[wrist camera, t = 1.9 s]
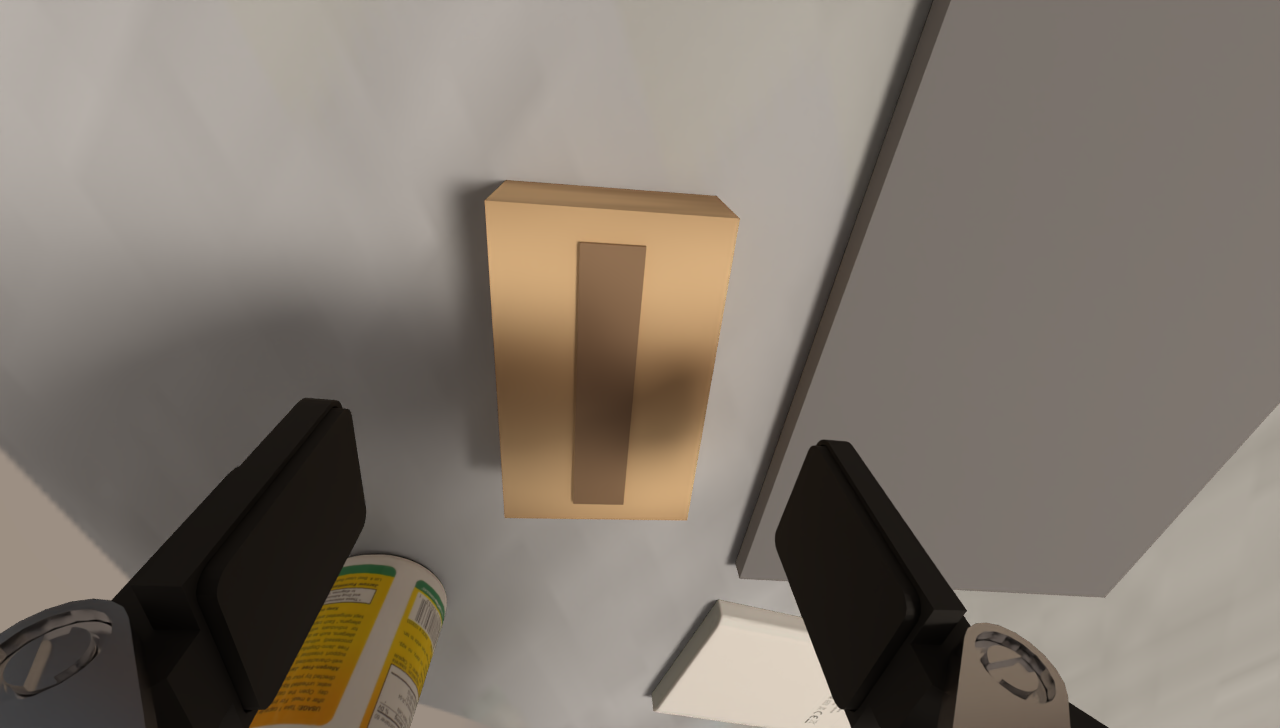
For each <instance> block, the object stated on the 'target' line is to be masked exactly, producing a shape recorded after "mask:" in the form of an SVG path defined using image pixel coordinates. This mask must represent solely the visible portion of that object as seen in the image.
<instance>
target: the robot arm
mask: <svg viewBox="0 0 1280 728" xmlns="http://www.w3.org/2000/svg"><path fill="white" fill-rule="evenodd" d="M365 519H366V506H365V499H364V493H363V486H362V480H361V473H360V466H359V460H358V453H357V447H356V440H355V434H354V427H353V421H352V415H351V412H350V410H349V409H343V408H342V405H341V403H340V402H339V401H337V400H326V399H314V398H304V399H302V400H300V401H299V402H298V403H297V404H296V405H295V406H294V407H293V409H292V410H291V411H290V412H289V413H288V414H287V415H286V416H285V417H284V418H283V419H282V421H281V422H280V423H279V424H278V425H277V426H276V427H275V428H274V429H273V430H272V431H271V433H270V434H269V435H268V436H267V437H266V438H265V439H264V440H263V441H262V442H261V443H260V445H259V446H258V447H257V448H256V449H255V450H254V451H253V452H252V453H251V454H250V456H249V457H248V458H247V459H246V460H245V461H244V462H243V463H242V464H241V465H240V466H239V467H237V468H235V469H234V470H233V471H231V472H230V473H229V474H228V475H227V476H226V477H225V478H224V479H223V480H222V482H221V483H220V484H219V485H218V486H217V487H216V488H215V489H214V490H213V491H212V492H211V493H210V494H209V496H208V497H207V498H206V499H205V500H204V501H203V502H202V503H201V504H200V505H199V506H198V507H197V509H196V510H195V511H194V512H193V513H192V514H191V515H190V516H189V517H188V518H187V519H186V520H185V522H184V523H183V524H182V525H181V526H180V527H179V528H178V529H177V530H176V531H175V532H174V533H173V534H172V536H171V537H170V538H169V539H168V540H167V541H166V542H165V543H164V544H163V545H162V546H161V547H160V549H159V550H158V551H157V552H156V553H155V554H154V555H153V556H152V557H151V558H150V559H149V560H148V562H147V563H146V564H145V565H144V566H143V567H142V568H141V569H140V570H139V571H138V572H137V573H136V574H135V576H134V577H133V578H132V579H131V580H130V581H129V582H128V583H127V584H126V585H125V586H124V588H123V589H122V590H121V591H120V592H119V593H118V594H117V595H116V596H115V597H114V598H113V600H111V601H110V600H101V599H87V600H80V601H72V602H68V603H65V604H62V605H59V606H55V607H52V608H49V609H45V610H44V611H41V612H39V613H37V614H35V615H32V616H30V617H28V618H26V619H24V620H22V621H19V622H18V623H16V624H15V625H13V626H11V627H10V628H8V629H7V630H5V631H4V632H2V633H0V728H249V726H250V725H251V723H252V721H253V719H254V717H255V715H256V713H257V711H258V710H265V709H267V708H268V707H269V706H270V705H271V704H272V702H273V701H274V699H275V697H276V696H277V694H278V692H279V690H280V688H281V686H282V684H283V682H284V680H285V678H286V676H287V674H288V672H289V670H290V668H291V666H292V665H293V663H294V661H295V659H296V657H297V655H298V653H299V651H300V649H301V647H302V645H303V643H304V641H305V639H306V637H307V636H308V634H309V632H310V630H311V628H312V626H313V624H314V622H315V620H316V618H317V616H318V614H319V612H320V610H321V608H322V606H323V605H324V603H325V601H326V599H327V597H328V595H329V593H330V591H331V589H332V587H333V585H334V583H335V581H336V579H337V577H338V576H339V574H340V572H341V570H342V568H343V566H344V564H345V562H346V560H347V558H348V556H349V554H350V552H351V550H352V548H353V547H354V545H355V543H356V541H357V539H358V537H359V535H360V533H361V531H362V529H363V526H364V523H365ZM775 546H776V550H777V553H778V555H779V558H780V560H781V563H782V566H783V568H784V571H785V574H786V576H787V579H788V581H789V584H790V587H791V589H792V592H793V595H794V597H795V600H796V603H797V605H798V608H799V610H800V613H801V616H802V618H803V621H804V624H805V626H806V629H807V632H808V634H809V637H810V639H811V642H812V645H813V647H814V650H815V653H816V655H817V658H818V661H819V663H820V666H821V668H822V671H823V674H824V676H825V679H826V682H827V684H828V687H829V689H830V692H831V695H832V697H833V700H834V702H835V704H836V705H837V706H838V708H840V709H842V710H844V711H845V714H846V716H847V719H848V721H849V724H850V726H851V728H1108V727H1107V726H1105V725H1103V724H1102V723H1100V722H1099V721H1097V720H1096V719H1094V718H1093V717H1091V716H1089V715H1088V714H1086V713H1085V712H1083V711H1082V710H1080V709H1079V708H1077V707H1075V706H1074V705H1072V704H1071V703H1069V702H1068V694H1067V691H1066V687H1065V683H1064V682H1063V680H1062V678H1061V676H1060V675H1059V673H1058V671H1057V670H1056V668H1055V667H1054V666H1053V665H1052V664H1051V662H1050V661H1049V660H1048V659H1047V658H1046V656H1045V655H1044V654H1043V653H1041V652H1040V651H1039V650H1038V649H1037V648H1036V647H1035V646H1033V645H1032V644H1031V643H1030V642H1029V641H1027V640H1026V639H1024V638H1022V637H1021V636H1019V635H1018V634H1016V633H1015V632H1013V631H1010V630H1008V629H1006V628H1004V627H1002V626H999V625H995V624H990V623H976V624H974V625H972V626H970V624H969V623H968V622H967V620H966V619H965V617H964V616H963V615H964V614H965V613H966V611H967V610H966V609H965V607H964V606H963V604H962V603H961V601H960V600H959V599H958V597H957V596H956V594H955V593H954V591H953V590H952V588H951V587H950V586H949V584H948V583H947V581H946V580H945V578H944V577H943V575H942V574H941V573H940V571H939V570H938V568H937V567H936V565H935V564H934V562H933V561H932V560H931V558H930V557H929V555H928V554H927V552H926V551H925V549H924V548H923V547H922V545H921V544H920V542H919V541H918V539H917V538H916V536H915V535H914V534H913V532H912V531H911V529H910V528H909V526H908V525H907V523H906V522H905V521H904V519H903V518H902V516H901V515H900V513H899V512H898V510H897V509H896V508H895V506H894V505H893V503H892V502H891V500H890V499H889V497H888V496H887V495H886V493H885V492H884V490H883V489H882V487H881V486H880V484H879V483H878V482H877V480H876V479H875V477H874V476H873V474H872V473H871V471H870V470H869V469H868V467H867V466H866V464H865V463H864V461H863V460H862V458H861V457H860V456H859V454H858V453H857V451H856V450H855V448H854V447H853V446H852V444H851V443H850V442H847V441H837V440H825V439H823V440H820V441H819V442H818V443H817V445H814V446H811V447H810V448H809V450H808V453H807V455H806V457H805V460H804V462H803V465H802V467H801V470H800V472H799V475H798V477H797V480H796V482H795V485H794V487H793V490H792V492H791V495H790V497H789V500H788V502H787V505H786V507H785V510H784V512H783V515H782V517H781V520H780V522H779V525H778V527H777V530H776V533H775Z"/></svg>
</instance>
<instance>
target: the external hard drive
mask: <svg viewBox="0 0 1280 728" xmlns="http://www.w3.org/2000/svg"><path fill="white" fill-rule="evenodd" d="M652 702H653V711H655V712H659V713H666V714H673V715H681V716H688V717H695V718H702V719H709V720H716V721H723V722H730V723H737V724H744V725H751V726H759V727H765V728H851V726H850V724H849V721H848V719H847V716H846V714H845V711H844V710H842V709H840V708H838V706H837V705H836V704H835V702H834V700H833V697H832V695H831V692H830V689H829V687H828V684H827V682H826V679H825V676H824V674H823V671H822V668H821V666H820V663H819V661H818V658H817V655H816V653H815V650H814V647H813V645H812V642H811V639H810V637H809V634H808V632H807V629H806V626H805V624H804V621H803V618H802V617H798V616H793V615H789V614H784V613H779V612H775V611H770V610H765V609H760V608H756V607H751V606H746V605H742V604H737V603H732V602H727V601H723V600H718V601H717V602H716V603H715V605H714V606H713V608H712V609H711V610H710V612H709V613H708V615H707V616H706V618H705V619H704V621H703V622H702V623H701V625H700V626H699V628H698V629H697V630H696V632H695V633H694V635H693V636H692V638H691V639H690V640H689V642H688V643H687V645H686V646H685V647H684V649H683V650H682V652H681V653H680V655H679V656H678V657H677V659H676V660H675V662H674V663H673V665H672V666H671V667H670V669H669V670H668V672H667V673H666V674H665V676H664V677H663V679H662V680H661V681H660V683H659V684H658V686H657V687H656V688H655V690H654V691H653V693H652Z"/></svg>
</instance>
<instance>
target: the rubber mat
mask: <svg viewBox="0 0 1280 728" xmlns="http://www.w3.org/2000/svg"><path fill="white" fill-rule="evenodd" d="M1279 403H1280V0H933V3H932V6H931V9H930V12H929V14H928V17H927V20H926V23H925V26H924V29H923V31H922V34H921V37H920V40H919V43H918V46H917V48H916V51H915V54H914V57H913V60H912V63H911V66H910V68H909V71H908V74H907V77H906V80H905V83H904V85H903V88H902V91H901V94H900V97H899V100H898V102H897V105H896V108H895V111H894V114H893V117H892V120H891V122H890V125H889V128H888V131H887V134H886V137H885V139H884V142H883V145H882V148H881V151H880V154H879V156H878V159H877V162H876V165H875V168H874V171H873V174H872V176H871V179H870V182H869V185H868V188H867V191H866V193H865V196H864V199H863V202H862V205H861V208H860V211H859V213H858V216H857V219H856V222H855V225H854V228H853V230H852V233H851V236H850V239H849V242H848V245H847V247H846V250H845V253H844V256H843V259H842V262H841V265H840V267H839V270H838V273H837V276H836V279H835V282H834V284H833V287H832V290H831V293H830V296H829V299H828V301H827V304H826V307H825V310H824V313H823V316H822V319H821V321H820V324H819V327H818V330H817V333H816V336H815V338H814V341H813V344H812V347H811V350H810V353H809V355H808V358H807V361H806V364H805V367H804V370H803V373H802V375H801V378H800V381H799V384H798V387H797V390H796V392H795V395H794V398H793V401H792V404H791V407H790V409H789V412H788V415H787V418H786V421H785V424H784V427H783V429H782V432H781V435H780V438H779V441H778V444H777V446H776V449H775V452H774V455H773V458H772V461H771V464H770V466H769V469H768V472H767V475H766V478H765V481H764V483H763V486H762V489H761V492H760V495H759V498H758V500H757V503H756V506H755V509H754V512H753V515H752V518H751V520H750V523H749V526H748V529H747V532H746V535H745V537H744V540H743V543H742V546H741V549H740V552H739V554H738V557H737V560H736V563H735V564H736V567H737V571H738V574H739V578H740V579H755V580H775V581H788V579H787V576H786V574H785V571H784V568H783V566H782V563H781V560H780V558H779V555H778V553H777V550H776V546H775V533H776V530H777V527H778V525H779V522H780V520H781V517H782V515H783V512H784V510H785V507H786V505H787V502H788V500H789V497H790V495H791V492H792V490H793V487H794V485H795V482H796V480H797V477H798V475H799V472H800V470H801V467H802V465H803V462H804V460H805V457H806V455H807V453H808V450H809V448H810V447H811V446H814V445H817V443H818V442H819V441H820V440H823V439H825V440H837V441H847V442H850V443H851V444H852V446H853V447H854V448H855V450H856V451H857V453H858V454H859V456H860V457H861V458H862V460H863V461H864V463H865V464H866V466H867V467H868V469H869V470H870V471H871V473H872V474H873V476H874V477H875V479H876V480H877V482H878V483H879V484H880V486H881V487H882V489H883V490H884V492H885V493H886V495H887V496H888V497H889V499H890V500H891V502H892V503H893V505H894V506H895V508H896V509H897V510H898V512H899V513H900V515H901V516H902V518H903V519H904V521H905V522H906V523H907V525H908V526H909V528H910V529H911V531H912V532H913V534H914V535H915V536H916V538H917V539H918V541H919V542H920V544H921V545H922V547H923V548H924V549H925V551H926V552H927V554H928V555H929V557H930V558H931V560H932V561H933V562H934V564H935V565H936V567H937V568H938V570H939V571H940V573H941V574H942V575H943V577H944V578H945V580H946V581H947V583H948V584H949V586H950V587H951V588H952V590H969V591H988V592H1008V593H1027V594H1046V595H1066V596H1085V597H1106V596H1107V595H1108V593H1109V592H1110V591H1111V590H1112V589H1113V588H1114V587H1115V586H1116V584H1117V583H1118V582H1119V581H1120V580H1121V579H1122V578H1123V577H1124V576H1125V574H1126V573H1127V572H1128V571H1129V570H1130V569H1131V568H1132V567H1133V566H1134V564H1135V563H1136V562H1137V561H1138V560H1139V559H1140V558H1141V557H1142V556H1143V554H1144V553H1145V552H1146V551H1147V550H1148V549H1149V548H1150V547H1151V546H1152V544H1153V543H1154V542H1155V541H1156V540H1157V539H1158V538H1159V537H1160V536H1161V534H1162V533H1163V532H1164V531H1165V530H1166V529H1167V528H1168V527H1169V525H1170V524H1171V523H1172V522H1173V521H1174V520H1175V519H1176V518H1177V517H1178V515H1179V514H1180V513H1181V512H1182V511H1183V510H1184V509H1185V508H1186V507H1187V505H1188V504H1189V503H1190V502H1191V501H1192V500H1193V499H1194V498H1195V497H1196V495H1197V494H1198V493H1199V492H1200V491H1201V490H1202V489H1203V488H1204V487H1205V485H1206V484H1207V483H1208V482H1209V481H1210V480H1211V479H1212V478H1213V477H1214V475H1215V474H1216V473H1217V472H1218V471H1219V470H1220V469H1221V468H1222V466H1223V465H1224V464H1225V463H1226V462H1227V461H1228V460H1229V459H1230V458H1231V456H1232V455H1233V454H1234V453H1235V452H1236V451H1237V450H1238V449H1239V448H1240V446H1241V445H1242V444H1243V443H1244V442H1245V441H1246V440H1247V439H1248V438H1249V436H1250V435H1251V434H1252V433H1253V432H1254V431H1255V430H1256V429H1257V428H1258V426H1259V425H1260V424H1261V423H1262V422H1263V421H1264V420H1265V419H1266V417H1267V416H1268V415H1269V414H1270V413H1271V412H1272V411H1273V410H1274V409H1275V407H1276V406H1277V405H1278V404H1279Z"/></svg>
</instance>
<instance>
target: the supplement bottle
mask: <svg viewBox="0 0 1280 728" xmlns="http://www.w3.org/2000/svg"><path fill="white" fill-rule="evenodd" d="M446 609H447V598H446V593H445V590H444V588H443V586H442V584H441V582H440V581H439V580H438V579H437V577H436V576H435V575H434V574H433V573H431V572H430V571H429V570H428V569H426V568H425V567H423V566H421V565H420V564H418V563H416V562H413V561H411V560H408V559H405V558H401V557H397V556H393V555H359V556H354V557H350V558H347V560H346V562H345V564H344V566H343V568H342V570H341V572H340V574H339V576H338V577H337V579H336V581H335V583H334V585H333V587H332V589H331V591H330V593H329V595H328V597H327V599H326V601H325V603H324V605H323V606H322V608H321V610H320V612H319V614H318V616H317V618H316V620H315V622H314V624H313V626H312V628H311V630H310V632H309V634H308V636H307V637H306V639H305V641H304V643H303V645H302V647H301V649H300V651H299V653H298V655H297V657H296V659H295V661H294V663H293V665H292V666H291V668H290V670H289V672H288V674H287V676H286V678H285V680H284V682H283V684H282V686H281V688H280V690H279V692H278V694H277V696H276V697H275V699H274V701H273V702H272V704H271V705H270V706H269V707H268V708H267V709H265V710H258V711H257V713H256V715H255V717H254V719H253V721H252V723H251V725H250V726H249V728H410V725H411V723H412V720H413V716H414V713H415V710H416V706H417V704H418V700H419V697H420V694H421V691H422V687H423V684H424V681H425V678H426V675H427V672H428V668H429V665H430V662H431V659H432V656H433V653H434V650H435V647H436V644H437V640H438V637H439V634H440V630H441V627H442V624H443V620H444V617H445V614H446Z"/></svg>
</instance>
